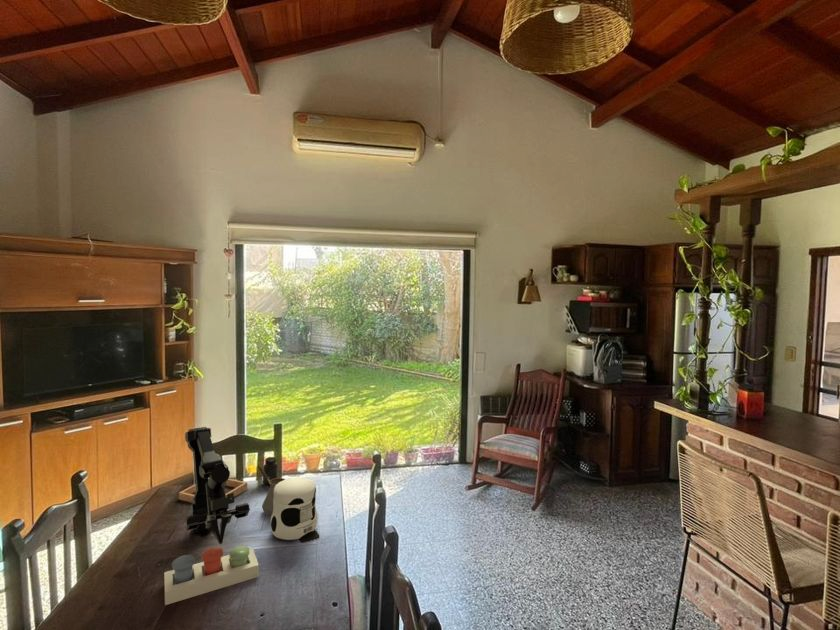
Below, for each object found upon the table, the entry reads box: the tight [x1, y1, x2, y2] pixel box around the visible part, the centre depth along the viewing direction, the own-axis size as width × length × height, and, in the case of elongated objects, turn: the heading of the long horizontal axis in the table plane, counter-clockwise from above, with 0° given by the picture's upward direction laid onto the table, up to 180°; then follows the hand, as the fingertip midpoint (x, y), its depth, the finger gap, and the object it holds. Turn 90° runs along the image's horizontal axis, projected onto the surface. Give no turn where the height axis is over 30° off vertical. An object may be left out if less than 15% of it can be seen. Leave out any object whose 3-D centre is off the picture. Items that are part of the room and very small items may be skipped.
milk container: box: [270, 477, 319, 542], centre depth 164 cm, size 17×17×18 cm
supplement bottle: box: [262, 456, 279, 487], centre depth 204 cm, size 7×7×12 cm
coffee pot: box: [255, 465, 286, 517], centre depth 182 cm, size 21×12×15 cm, turn 49°
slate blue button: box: [171, 554, 196, 584], centre depth 132 cm, size 6×6×6 cm
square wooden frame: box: [178, 478, 248, 504], centre depth 192 cm, size 20×19×3 cm
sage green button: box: [229, 545, 250, 569], centre depth 140 cm, size 6×6×6 cm
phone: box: [298, 529, 320, 544], centre depth 166 cm, size 7×1×15 cm
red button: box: [201, 547, 224, 576], centre depth 136 cm, size 6×6×6 cm
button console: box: [163, 548, 260, 606], centre depth 136 cm, size 10×26×4 cm, turn 121°
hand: (220, 543), depth 137 cm, fingers closed
